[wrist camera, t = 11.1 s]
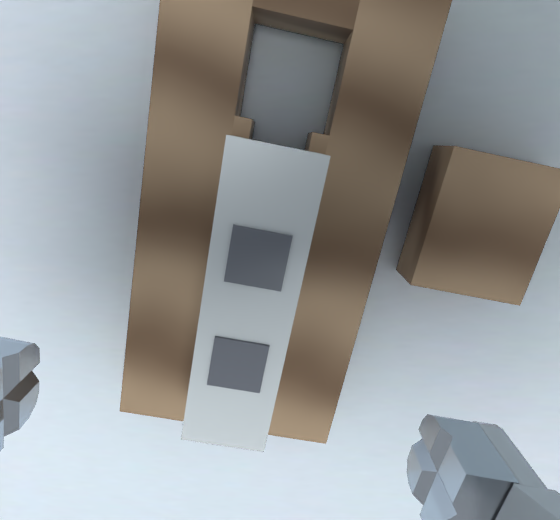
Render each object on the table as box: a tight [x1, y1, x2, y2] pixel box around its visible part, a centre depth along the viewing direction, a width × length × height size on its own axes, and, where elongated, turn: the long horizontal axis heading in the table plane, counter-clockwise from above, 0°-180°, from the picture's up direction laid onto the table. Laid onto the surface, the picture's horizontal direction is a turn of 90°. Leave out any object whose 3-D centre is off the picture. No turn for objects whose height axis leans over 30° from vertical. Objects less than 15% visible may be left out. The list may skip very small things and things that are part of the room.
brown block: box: [396, 146, 560, 305], centre depth 21 cm, size 7×6×2 cm
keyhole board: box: [120, 0, 452, 444], centre depth 20 cm, size 24×12×2 cm, turn 169°
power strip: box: [181, 135, 331, 452], centre depth 19 cm, size 14×4×6 cm, turn 169°
